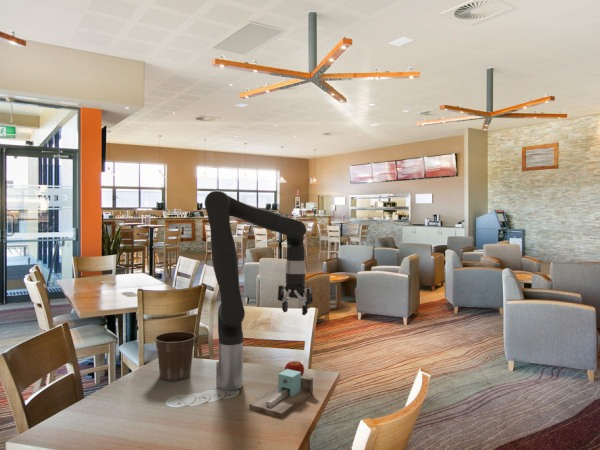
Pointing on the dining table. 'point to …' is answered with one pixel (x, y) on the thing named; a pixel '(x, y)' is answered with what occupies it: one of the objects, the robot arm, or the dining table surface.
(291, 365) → the apple
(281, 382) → the cabinet block
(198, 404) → the dining table surface
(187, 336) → the plant pot
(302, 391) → the cleat board
